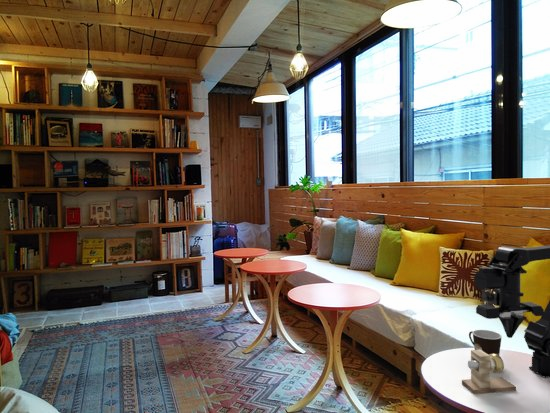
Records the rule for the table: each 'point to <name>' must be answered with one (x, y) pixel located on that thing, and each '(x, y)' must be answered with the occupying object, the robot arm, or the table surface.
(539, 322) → the robot arm
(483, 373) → the bearing stand
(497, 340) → the coffee mug
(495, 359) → the shaft
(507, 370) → the table surface
